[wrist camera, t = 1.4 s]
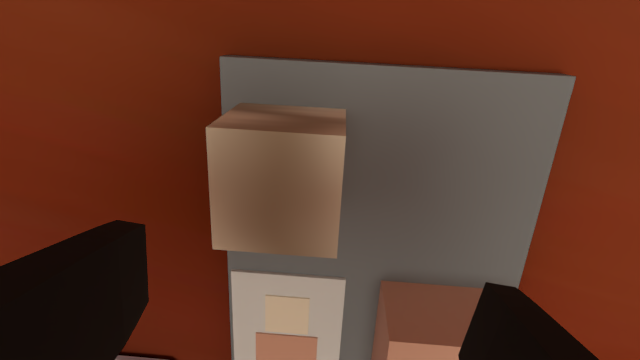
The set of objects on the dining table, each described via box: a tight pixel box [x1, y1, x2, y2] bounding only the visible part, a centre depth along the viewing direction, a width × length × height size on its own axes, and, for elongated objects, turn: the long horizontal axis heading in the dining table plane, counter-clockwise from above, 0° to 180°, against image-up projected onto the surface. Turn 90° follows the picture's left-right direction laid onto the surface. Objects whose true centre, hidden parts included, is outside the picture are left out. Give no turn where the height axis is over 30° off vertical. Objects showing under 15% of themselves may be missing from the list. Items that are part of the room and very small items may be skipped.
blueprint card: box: [231, 269, 346, 360], centre depth 21 cm, size 6×7×1 cm
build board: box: [220, 55, 576, 360], centre depth 19 cm, size 14×18×1 cm
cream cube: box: [206, 103, 346, 259], centre depth 15 cm, size 4×4×4 cm
